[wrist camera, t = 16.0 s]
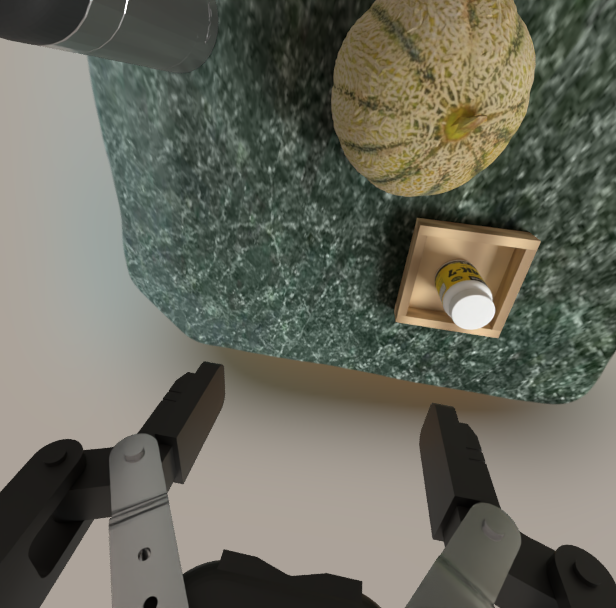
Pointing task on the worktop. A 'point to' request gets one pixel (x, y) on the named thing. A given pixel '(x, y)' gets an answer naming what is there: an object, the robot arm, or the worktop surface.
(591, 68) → the worktop surface
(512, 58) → the cantaloupe
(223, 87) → the worktop surface
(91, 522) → the robot arm
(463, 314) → the supplement bottle
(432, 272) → the box
